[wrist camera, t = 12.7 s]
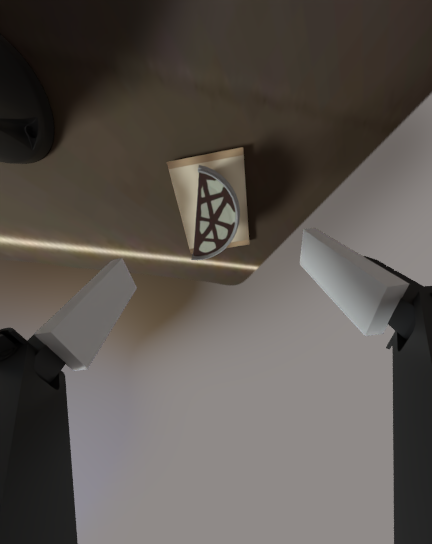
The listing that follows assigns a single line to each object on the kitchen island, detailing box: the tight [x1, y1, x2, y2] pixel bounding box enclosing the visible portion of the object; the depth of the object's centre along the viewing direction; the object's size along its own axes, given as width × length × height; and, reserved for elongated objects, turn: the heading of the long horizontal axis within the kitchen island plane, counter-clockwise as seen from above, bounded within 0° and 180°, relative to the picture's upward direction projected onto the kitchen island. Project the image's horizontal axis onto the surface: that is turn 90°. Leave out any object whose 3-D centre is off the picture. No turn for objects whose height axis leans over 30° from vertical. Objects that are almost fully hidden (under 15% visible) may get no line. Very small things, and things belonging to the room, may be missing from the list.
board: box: [167, 147, 249, 253], centre depth 32 cm, size 12×16×2 cm
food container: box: [192, 165, 240, 260], centre depth 27 cm, size 12×6×10 cm, turn 172°
